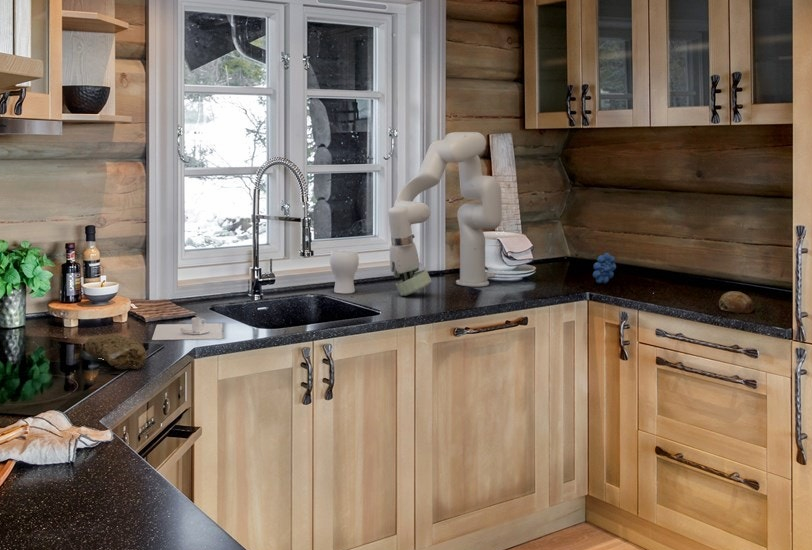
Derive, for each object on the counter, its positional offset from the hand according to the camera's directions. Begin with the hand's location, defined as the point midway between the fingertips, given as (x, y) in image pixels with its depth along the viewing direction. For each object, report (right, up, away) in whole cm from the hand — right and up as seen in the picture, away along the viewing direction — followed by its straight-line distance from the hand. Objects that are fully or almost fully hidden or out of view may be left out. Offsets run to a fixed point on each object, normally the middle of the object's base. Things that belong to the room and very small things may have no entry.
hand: (408, 289), depth 305 cm
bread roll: (+103, -2, -29) cm, 107 cm away
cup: (-23, -2, +7) cm, 24 cm away
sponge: (-89, -5, -91) cm, 127 cm away
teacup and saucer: (-74, -4, -56) cm, 93 cm away
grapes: (+79, -1, +23) cm, 82 cm away
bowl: (+3, 0, -2) cm, 3 cm away
